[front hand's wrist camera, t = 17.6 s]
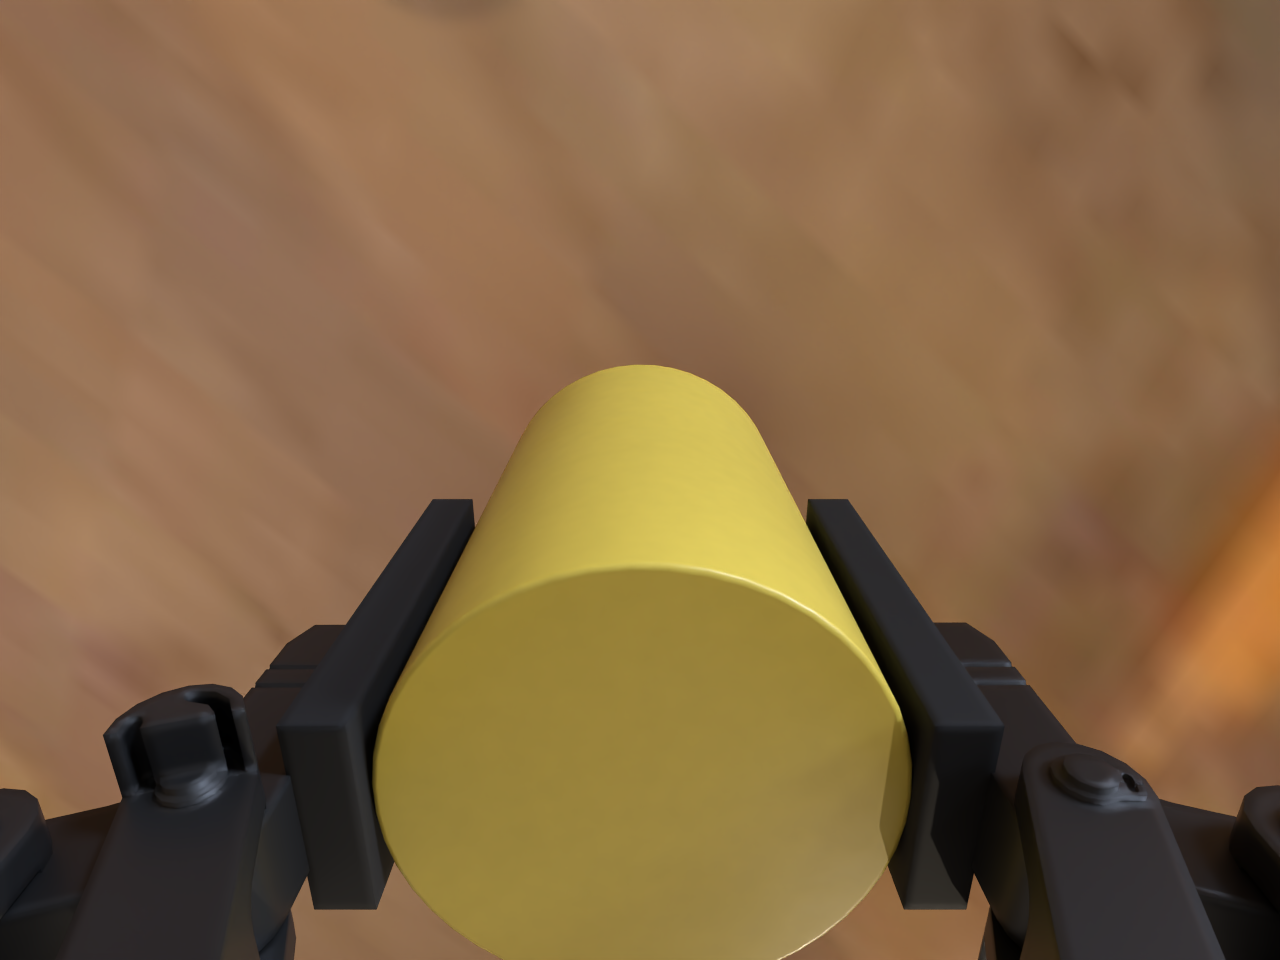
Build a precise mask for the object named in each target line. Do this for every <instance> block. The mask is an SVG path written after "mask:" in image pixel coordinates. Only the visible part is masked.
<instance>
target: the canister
mask: <svg viewBox="0 0 1280 960" xmlns="http://www.w3.org/2000/svg"><path fill="white" fill-rule="evenodd" d="M911 785H912V758H911V751H910V745H909V738H908V733H907V730H906V727H905V724H904V721H903V717H902V714H901V711H900V708H899V706H898V704H897V702H896V700H895V698H894V696H893V694H892V692H891V690H890V688H889V686H888V684H887V682H886V680H885V678H884V676H883V674H882V672H881V670H880V668H879V666H878V664H877V662H876V661H875V659H874V657H873V655H872V653H871V651H870V649H869V647H868V645H867V643H866V641H865V639H864V637H863V635H862V633H861V631H860V629H859V627H858V625H857V623H856V621H855V619H854V617H853V615H852V613H851V611H850V610H849V608H848V606H847V604H846V602H845V600H844V598H843V596H842V594H841V592H840V590H839V588H838V586H837V584H836V582H835V580H834V578H833V576H832V574H831V572H830V570H829V568H828V566H827V564H826V562H825V560H824V559H823V557H822V555H821V553H820V551H819V549H818V547H817V545H816V543H815V541H814V539H813V537H812V535H811V533H810V531H809V529H808V527H807V525H806V523H805V521H804V519H803V517H802V515H801V513H800V511H799V509H798V508H797V506H796V504H795V502H794V500H793V498H792V496H791V494H790V492H789V490H788V488H787V486H786V484H785V482H784V480H783V478H782V476H781V474H780V472H779V470H778V468H777V466H776V464H775V462H774V460H773V458H772V456H771V455H770V453H769V451H768V449H767V447H766V445H765V443H764V441H763V439H762V437H761V435H760V433H759V431H758V429H757V427H756V426H755V424H754V423H753V422H752V420H751V419H750V417H749V416H748V414H747V413H746V412H745V411H744V410H743V409H742V408H741V407H740V406H739V405H738V403H737V402H736V401H735V400H733V399H732V398H731V397H730V396H729V395H727V394H726V393H725V392H724V391H722V390H721V389H719V388H718V387H716V386H715V385H713V384H711V383H710V382H708V381H706V380H704V379H702V378H700V377H697V376H695V375H693V374H690V373H688V372H684V371H681V370H677V369H674V368H669V367H662V366H656V365H629V366H619V367H614V368H610V369H606V370H602V371H598V372H596V373H593V374H590V375H588V376H585V377H583V378H581V379H579V380H577V381H575V382H573V383H572V384H570V385H568V386H566V387H565V388H564V389H562V390H561V391H560V392H558V393H557V394H555V395H554V396H553V397H552V398H551V399H550V400H549V401H548V402H547V403H545V404H544V405H543V406H542V407H541V408H540V409H539V411H538V412H537V413H536V415H535V416H534V417H533V418H532V420H531V421H530V422H529V424H528V426H527V427H526V429H525V431H524V433H523V434H522V436H521V438H520V440H519V442H518V444H517V446H516V448H515V450H514V452H513V454H512V456H511V458H510V460H509V462H508V464H507V466H506V468H505V470H504V472H503V474H502V476H501V478H500V480H499V482H498V484H497V486H496V488H495V490H494V492H493V494H492V495H491V497H490V499H489V501H488V503H487V505H486V507H485V509H484V511H483V513H482V515H481V517H480V519H479V521H478V523H477V525H476V527H475V529H474V531H473V533H472V535H471V537H470V539H469V541H468V543H467V545H466V547H465V549H464V551H463V553H462V555H461V557H460V559H459V561H458V563H457V565H456V567H455V569H454V571H453V573H452V575H451V577H450V579H449V581H448V583H447V585H446V587H445V589H444V591H443V593H442V595H441V596H440V598H439V600H438V602H437V604H436V606H435V608H434V610H433V612H432V614H431V616H430V618H429V620H428V622H427V624H426V626H425V628H424V630H423V632H422V634H421V636H420V638H419V640H418V642H417V644H416V646H415V648H414V650H413V652H412V654H411V656H410V658H409V660H408V662H407V664H406V666H405V668H404V670H403V672H402V674H401V676H400V678H399V680H398V682H397V684H396V686H395V688H394V690H393V692H392V694H391V696H390V698H389V700H388V703H387V705H386V708H385V711H384V713H383V716H382V718H381V721H380V724H379V727H378V732H377V737H376V742H375V746H374V751H373V770H372V786H373V793H374V801H375V808H376V814H377V818H378V821H379V824H380V828H381V831H382V834H383V837H384V840H385V843H386V845H387V847H388V849H389V851H390V853H391V855H392V857H393V859H394V861H395V863H396V865H397V867H398V868H399V870H400V871H401V873H402V874H403V876H404V877H405V879H406V880H407V882H408V883H409V885H410V886H411V888H412V889H413V890H414V891H415V892H416V893H417V895H418V896H419V897H420V898H421V899H422V900H423V901H424V903H425V904H426V905H427V906H428V907H429V908H430V909H431V910H432V911H433V912H434V913H435V914H436V915H438V916H439V917H440V918H441V919H442V920H443V921H444V922H445V923H447V924H448V925H449V926H450V927H451V928H452V929H454V930H455V931H457V932H458V933H459V934H461V935H462V936H464V937H465V938H467V939H468V940H470V941H471V942H472V943H474V944H475V945H477V946H479V947H481V948H482V949H484V950H486V951H488V952H490V953H492V954H494V955H495V956H497V957H499V958H501V959H503V960H781V959H783V958H785V957H787V956H789V955H791V954H793V953H795V952H797V951H799V950H801V949H802V948H804V947H805V946H807V945H808V944H810V943H812V942H813V941H815V940H816V939H818V938H819V937H821V936H823V935H824V934H825V933H827V932H828V931H829V930H830V929H831V928H833V927H834V926H835V925H836V924H838V923H839V922H840V921H841V920H843V919H844V918H845V917H846V916H847V915H848V914H849V913H850V912H851V911H852V910H853V909H854V908H855V907H856V906H857V905H858V904H859V903H860V902H861V901H862V900H863V899H864V898H865V897H866V896H867V894H868V893H869V892H870V890H871V889H872V888H873V886H874V885H875V883H876V882H877V881H878V879H879V878H880V877H881V875H882V874H883V873H884V871H885V869H886V867H887V865H888V863H889V861H890V860H891V858H892V856H893V854H894V852H895V850H896V849H897V846H898V843H899V840H900V838H901V835H902V832H903V829H904V826H905V824H906V820H907V814H908V809H909V804H910V798H911Z"/></svg>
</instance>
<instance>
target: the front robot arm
mask: <svg viewBox="0 0 1280 960" xmlns="http://www.w3.org/2000/svg"><path fill="white" fill-rule="evenodd" d="M806 525H807V527H808V529H809V531H810V533H811V535H812V537H813V539H814V541H815V543H816V545H817V547H818V549H819V551H820V553H821V555H822V557H823V559H824V560H825V562H826V564H827V566H828V568H829V570H830V572H831V574H832V576H833V578H834V580H835V582H836V584H837V586H838V588H839V590H840V592H841V594H842V596H843V598H844V600H845V602H846V604H847V606H848V608H849V610H850V611H851V613H852V615H853V617H854V619H855V621H856V623H857V625H858V627H859V629H860V631H861V633H862V635H863V637H864V639H865V641H866V643H867V645H868V647H869V649H870V651H871V653H872V655H873V657H874V659H875V661H876V662H877V664H878V666H879V668H880V670H881V672H882V674H883V676H884V678H885V680H886V682H887V684H888V686H889V688H890V690H891V692H892V694H893V696H894V698H895V700H896V702H897V704H898V706H899V708H900V711H901V714H902V717H903V721H904V724H905V727H906V730H907V733H908V738H909V745H910V751H911V758H912V785H911V798H910V804H909V809H908V814H907V820H906V824H905V826H904V829H903V832H902V835H901V838H900V840H899V843H898V846H897V849H896V850H895V852H894V854H893V856H892V858H891V860H890V861H889V863H888V868H889V870H890V873H891V876H892V878H893V881H894V884H895V887H896V889H897V892H898V895H899V897H900V900H901V903H902V905H903V908H904V909H966V908H967V903H968V899H969V894H970V889H971V884H972V880H973V875H974V874H975V876H976V878H977V880H978V882H979V884H980V886H981V888H982V890H983V892H984V894H985V896H986V898H987V900H988V902H989V904H990V908H989V913H988V917H987V922H986V926H985V931H984V935H983V939H982V944H981V948H980V953H979V957H978V960H1280V786H1279V785H1277V786H1265V787H1256V788H1255V789H1253V790H1252V791H1251V792H1249V793H1248V794H1246V795H1245V796H1244V799H1243V801H1242V804H1241V807H1240V810H1239V812H1238V815H1237V817H1234V816H1229V815H1225V814H1220V813H1216V812H1211V811H1207V810H1202V809H1198V808H1193V807H1189V806H1184V805H1180V804H1175V803H1172V802H1168V801H1165V800H1161V799H1158V797H1157V795H1156V794H1155V792H1154V791H1153V789H1152V788H1151V786H1150V785H1149V784H1148V782H1147V781H1146V779H1144V778H1143V777H1142V776H1141V775H1139V774H1138V773H1137V772H1136V771H1134V770H1133V769H1132V768H1131V767H1129V766H1128V765H1127V764H1126V763H1124V762H1122V761H1120V760H1118V759H1116V758H1114V757H1112V756H1110V755H1108V754H1106V753H1104V752H1102V751H1099V750H1096V749H1093V748H1089V747H1086V746H1083V745H1079V744H1076V743H1075V741H1074V740H1073V739H1072V738H1071V736H1070V735H1069V734H1068V733H1067V732H1066V730H1065V729H1064V728H1063V727H1062V725H1061V724H1060V723H1059V722H1058V720H1057V719H1056V718H1055V717H1054V715H1053V714H1052V713H1051V712H1050V710H1049V709H1048V708H1047V707H1046V705H1045V704H1044V703H1043V702H1042V700H1041V699H1040V698H1039V697H1038V695H1037V694H1036V693H1035V692H1034V690H1033V689H1032V688H1031V687H1030V685H1026V680H1025V679H1024V678H1023V677H1022V675H1021V674H1020V673H1019V672H1018V670H1017V669H1016V668H1015V667H1012V666H1011V662H1010V660H1009V659H1008V658H1007V657H1006V655H1005V654H1004V653H1003V652H1002V651H1001V649H1000V648H999V647H998V646H997V644H996V643H995V642H994V641H993V640H991V639H990V638H988V637H987V636H985V635H984V634H982V633H981V632H979V631H978V630H976V629H975V628H973V627H972V626H970V625H969V624H967V623H933V622H932V620H931V619H930V617H929V616H928V614H927V613H926V612H925V610H924V609H923V607H922V606H921V604H920V603H919V601H918V600H917V599H916V597H915V596H914V594H913V593H912V591H911V590H910V588H909V587H908V586H907V584H906V583H905V581H904V580H903V578H902V577H901V575H900V574H899V573H898V571H897V570H896V568H895V567H894V565H893V564H892V563H891V561H890V560H889V558H888V557H887V555H886V554H885V552H884V551H883V550H882V548H881V547H880V545H879V544H878V542H877V541H876V539H875V538H874V537H873V535H872V534H871V532H870V531H869V529H868V528H867V526H866V525H865V524H864V522H863V521H862V519H861V518H860V516H859V515H858V513H857V512H856V511H855V509H854V508H853V506H852V505H851V503H850V502H849V500H848V499H808V507H807V518H806ZM474 529H475V523H474V512H473V500H472V499H433V500H432V501H431V503H430V504H429V506H428V507H427V509H426V510H425V511H424V513H423V514H422V516H421V517H420V519H419V520H418V522H417V523H416V524H415V526H414V527H413V529H412V530H411V532H410V533H409V534H408V536H407V537H406V539H405V540H404V542H403V543H402V545H401V546H400V547H399V549H398V550H397V552H396V553H395V555H394V556H393V558H392V559H391V560H390V562H389V563H388V565H387V566H386V568H385V569H384V571H383V572H382V573H381V575H380V576H379V578H378V579H377V581H376V582H375V584H374V585H373V586H372V588H371V589H370V591H369V592H368V594H367V595H366V597H365V598H364V599H363V601H362V602H361V604H360V605H359V607H358V608H357V609H356V611H355V612H354V614H353V615H352V617H351V618H350V620H349V621H348V622H347V624H346V625H314V626H313V627H311V628H310V629H308V630H307V631H305V632H304V633H302V634H301V635H299V636H298V637H296V638H295V639H293V640H292V641H290V642H289V643H287V644H286V645H285V647H284V648H283V649H282V650H281V652H280V653H279V654H278V656H277V657H276V658H275V659H274V661H273V662H272V663H271V664H270V669H266V671H265V672H264V673H263V674H262V676H261V677H260V678H259V679H258V681H257V682H256V686H255V688H251V689H250V691H249V692H248V693H247V694H246V696H245V697H244V698H243V696H242V695H241V694H239V693H238V692H237V691H235V690H234V689H233V688H232V687H226V686H221V685H216V684H205V685H192V686H186V687H182V688H178V689H175V690H171V691H167V692H163V693H161V694H159V695H156V696H154V697H152V698H150V699H147V700H145V701H143V702H141V703H139V704H137V705H135V706H134V707H132V708H131V709H130V710H128V711H127V712H125V713H124V714H122V715H121V716H120V717H118V718H117V719H116V720H115V721H114V722H113V723H112V725H111V726H110V727H109V728H108V729H107V731H106V732H105V733H104V734H103V737H104V740H105V743H106V747H107V750H108V753H109V756H110V759H111V763H112V766H113V769H114V772H115V775H116V779H117V782H118V785H119V788H120V791H121V795H122V800H121V802H120V803H116V804H113V805H110V806H106V807H101V808H97V809H92V810H88V811H83V812H79V813H74V814H70V815H65V816H61V817H56V818H52V819H47V820H45V819H44V816H43V813H42V810H41V808H40V805H39V802H38V799H37V798H35V797H34V796H33V795H31V794H30V793H28V792H27V791H25V790H16V789H5V788H3V789H0V960H294V953H295V943H296V935H295V928H294V922H293V917H292V913H291V907H292V905H293V903H294V901H295V899H296V897H297V895H298V893H299V891H300V889H301V887H302V885H303V883H304V881H305V879H306V877H308V882H309V886H310V891H311V896H312V901H313V906H314V909H377V907H378V904H379V901H380V899H381V896H382V893H383V891H384V888H385V885H386V883H387V880H388V877H389V875H390V872H391V869H392V866H393V864H394V859H393V857H392V855H391V853H390V851H389V849H388V847H387V845H386V843H385V840H384V837H383V834H382V831H381V828H380V824H379V821H378V818H377V814H376V808H375V801H374V793H373V786H372V770H373V751H374V746H375V742H376V737H377V732H378V727H379V724H380V721H381V718H382V716H383V713H384V711H385V708H386V705H387V703H388V700H389V698H390V696H391V694H392V692H393V690H394V688H395V686H396V684H397V682H398V680H399V678H400V676H401V674H402V672H403V670H404V668H405V666H406V664H407V662H408V660H409V658H410V656H411V654H412V652H413V650H414V648H415V646H416V644H417V642H418V640H419V638H420V636H421V634H422V632H423V630H424V628H425V626H426V624H427V622H428V620H429V618H430V616H431V614H432V612H433V610H434V608H435V606H436V604H437V602H438V600H439V598H440V596H441V595H442V593H443V591H444V589H445V587H446V585H447V583H448V581H449V579H450V577H451V575H452V573H453V571H454V569H455V567H456V565H457V563H458V561H459V559H460V557H461V555H462V553H463V551H464V549H465V547H466V545H467V543H468V541H469V539H470V537H471V535H472V533H473V531H474Z"/></svg>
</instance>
